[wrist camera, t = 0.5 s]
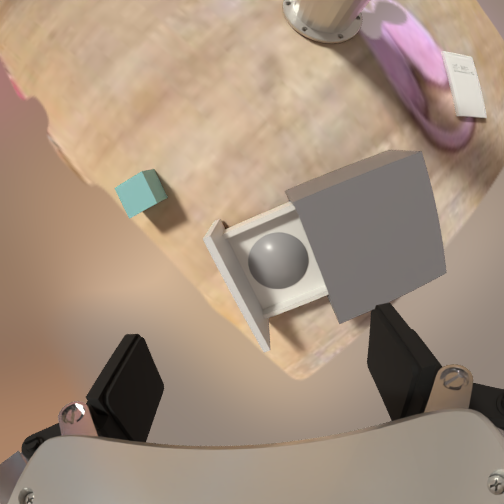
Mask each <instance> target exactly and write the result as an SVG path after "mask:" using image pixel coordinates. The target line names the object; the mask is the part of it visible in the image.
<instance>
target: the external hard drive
mask: <svg viewBox="0 0 504 504" xmlns="http://www.w3.org/2000/svg"><path fill="white" fill-rule="evenodd" d="M441 55H442V58H443V62H444V65H445V69H446V72H447V76H448V80H449V84H450V88H451V93H452V97H453V102H454V107H455V112H456V116H459V117H475V118H487V116H486V110H485V105H484V100H483V96H482V91H481V87H480V83H479V79H478V75H477V72H476V68H475V65H474V61H473V58H472V57H470V56H465V55H461V54H456V53H451V52H446V51H443V52H441Z"/></svg>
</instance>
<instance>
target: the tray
mask: <svg viewBox="0 0 504 504" xmlns="http://www.w3.org/2000/svg"><path fill="white" fill-rule="evenodd" d="M203 240H204V242H205V244H206V246H207V248H208V250H209V252H210V254H211V256H212V258H213V260H214V262H215V264H216V266H217V267H218V269H219V271H220V273H221V275H222V277H223V279H224V281H225V283H226V284H227V286H228V288H229V290H230V292H231V294H232V296H233V297H234V299H235V301H236V303H237V305H238V307H239V309H240V310H241V312H242V314H243V316H244V318H245V319H246V321H247V323H248V325H249V327H250V329H251V330H252V332H253V334H254V336H255V337H256V339H257V341H258V343H259V345H260V346H261V348H262V350H263V352H267V351H270V333H269V318H270V317H273V316H275V315H278V314H281V313H283V312H286V311H288V310H291V309H294V308H296V307H299V306H301V305H304V304H306V303H309V302H311V301H314V300H316V299H319V298H321V297H324V296H326V295H329V294H328V291H327V288H326V286H325V283H324V280H323V278H322V275H321V272H320V270H319V267H318V264H317V262H316V259H315V256H314V254H313V251H312V249H311V246H310V244H309V241H308V239H307V236H306V234H305V231H304V229H303V226H302V224H301V221H300V219H299V216H298V214H297V211H296V209H295V207H294V206H293V204H292V203H291V201H290V202H288V203H285V204H283V205H280V206H278V207H276V208H273V209H271V210H269V211H266V212H264V213H262V214H259V215H257V216H255V217H252V218H250V219H248V220H245V221H243V222H241V223H239V224H236V225H234V226H232V227H229V228H227V229H225V228H224V226H223V223H222V221H221V219H218V220H216V221H214V222H213V224H212V225H211V227H210V228H209V230H208V232H207V233H206V235H205V236H204V238H203Z"/></svg>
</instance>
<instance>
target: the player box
mask: <svg viewBox="0 0 504 504" xmlns="http://www.w3.org/2000/svg"><path fill="white" fill-rule="evenodd" d="M285 192H286V194H287V197H288V199H289V201H291V203H292V204H293V206H294V207H295V209H296V211H297V214H298V216H299V219H300V221H301V224H302V226H303V229H304V231H305V234H306V236H307V239H308V241H309V244H310V246H311V249H312V251H313V254H314V256H315V259H316V262H317V264H318V267H319V270H320V272H321V275H322V278H323V280H324V283H325V286H326V288H327V291H328V294H329V295H327V297H328V299H329V301H330V303H331V306H332V308H333V310H334V313H335V315H336V317H337V319H338V322H339V324H341V323H343V322H346V321H348V320H350V319H353V318H355V317H357V316H360V315H362V314H364V313H367V312H369V311H371V310H373V309H375V306H376V305H380V304H384V303H388V302H391V301H393V300H395V299H397V298H399V297H401V296H403V295H405V294H407V293H409V292H411V291H413V290H415V289H417V288H419V287H421V286H423V285H425V284H427V283H429V282H430V281H432V280H434V279H436V278H438V277H440V276H442V275H443V274H445V273H446V265H445V256H444V249H443V242H442V236H441V230H440V224H439V219H438V214H437V209H436V204H435V200H434V195H433V191H432V187H431V183H430V179H429V175H428V172H427V168H426V164H425V161H424V158H423V154H422V151H403V150H388V151H385V152H382V153H380V154H377V155H374V156H372V157H369V158H366V159H364V160H361V161H358V162H356V163H353V164H351V165H348V166H345V167H343V168H340V169H338V170H335V171H333V172H330V173H328V174H325V175H323V176H320V177H318V178H315V179H313V180H310V181H308V182H305V183H303V184H300V185H298V186H296V187H293V188H291V189H288V190H286V191H285Z"/></svg>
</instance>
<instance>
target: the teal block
mask: <svg viewBox="0 0 504 504" xmlns="http://www.w3.org/2000/svg"><path fill="white" fill-rule="evenodd" d="M115 190H116V192H117V194H118V196H119V199H120V201H121V203H122V205H123V207H124V209H125V211H126V213H127V215H128V217H129V218H131V217H133V216H135V215H137V214H139V213H140V212H142V211H144V210H146V209H148V208H149V207H151V206H153V205H155V204H157V203H159V202H160V201H162V200H164V199H166V198H168V197H167V195H166V193H165V191H164V189H163V187H162V185H161V183H160V181H159V178H158V176H157V174H156V172H155V170H154V169H152V170H146V171H142V172H140V173H138V174H137V175H135V176H133V177H132V178H130V179H128V180H127V181H125V182H124V183H122V184H120V185H119V186H117V187H116V188H115Z"/></svg>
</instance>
